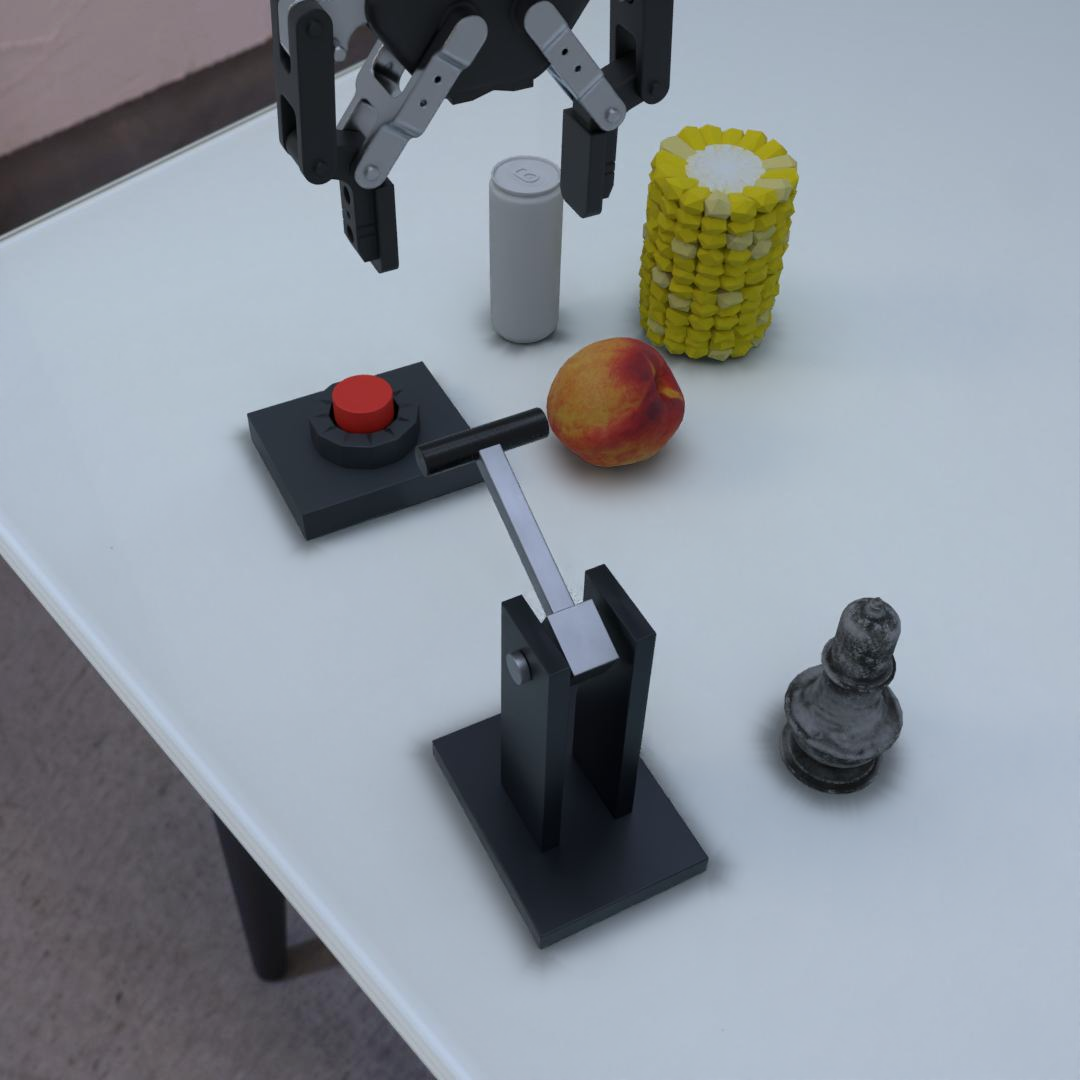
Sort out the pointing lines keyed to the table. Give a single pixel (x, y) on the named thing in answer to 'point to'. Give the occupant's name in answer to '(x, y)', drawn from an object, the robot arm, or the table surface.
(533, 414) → the lever
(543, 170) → the beverage can
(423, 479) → the control block
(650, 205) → the food
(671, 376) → the fruit
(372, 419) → the button
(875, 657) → the black chess piece
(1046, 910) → the table surface
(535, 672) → the bracket
